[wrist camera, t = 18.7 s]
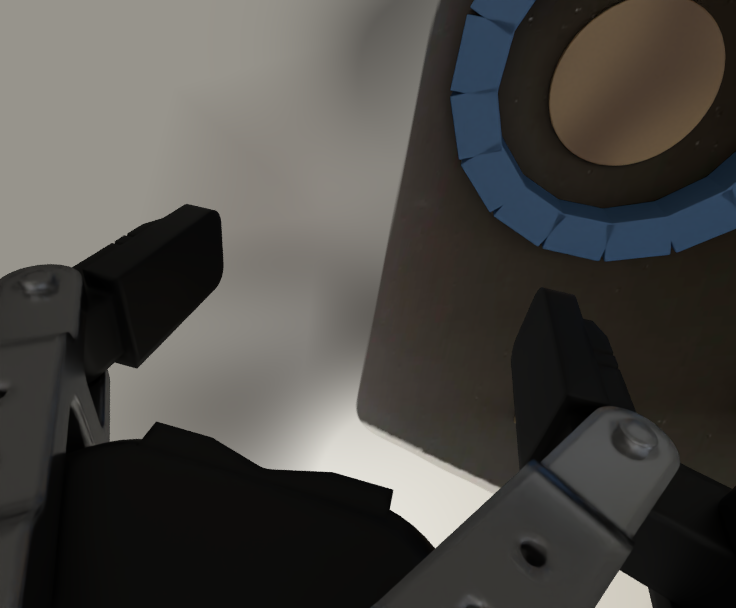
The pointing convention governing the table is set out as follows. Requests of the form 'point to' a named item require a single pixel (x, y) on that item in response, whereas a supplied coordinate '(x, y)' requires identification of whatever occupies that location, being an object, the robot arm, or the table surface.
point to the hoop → (537, 206)
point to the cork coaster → (636, 80)
